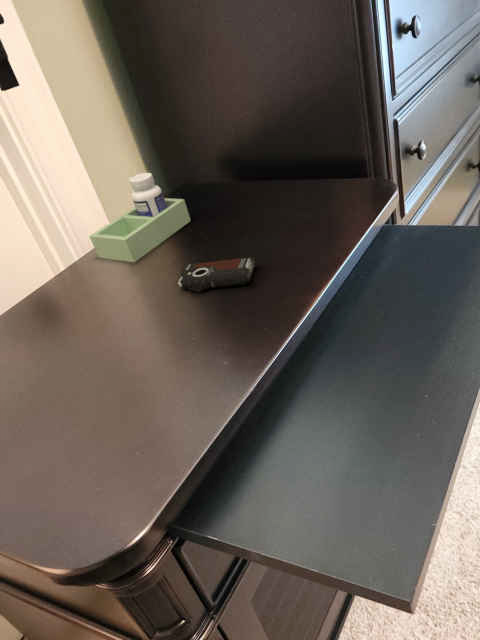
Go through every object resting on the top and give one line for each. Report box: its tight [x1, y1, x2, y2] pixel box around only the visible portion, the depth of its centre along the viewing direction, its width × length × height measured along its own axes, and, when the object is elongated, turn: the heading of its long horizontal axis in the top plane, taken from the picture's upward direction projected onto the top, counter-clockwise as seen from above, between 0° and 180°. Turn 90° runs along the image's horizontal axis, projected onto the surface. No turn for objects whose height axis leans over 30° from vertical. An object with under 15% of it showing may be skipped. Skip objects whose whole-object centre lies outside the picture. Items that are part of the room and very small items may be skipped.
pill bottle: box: [129, 172, 167, 217], centre depth 93 cm, size 5×5×9 cm
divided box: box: [89, 197, 192, 263], centre depth 93 cm, size 8×16×4 cm, turn 152°
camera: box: [177, 256, 256, 293], centre depth 77 cm, size 6×3×11 cm
